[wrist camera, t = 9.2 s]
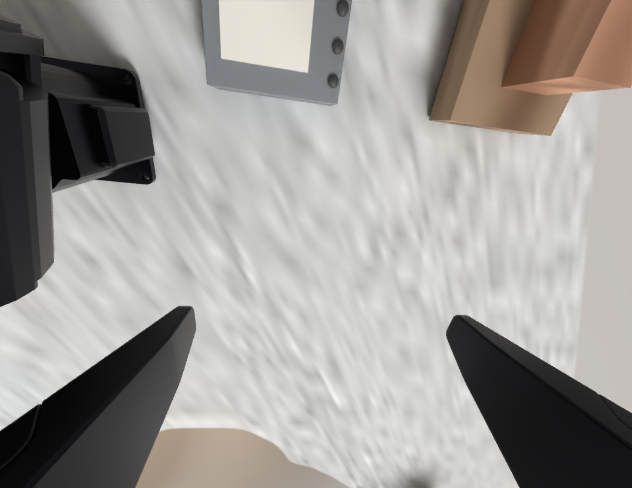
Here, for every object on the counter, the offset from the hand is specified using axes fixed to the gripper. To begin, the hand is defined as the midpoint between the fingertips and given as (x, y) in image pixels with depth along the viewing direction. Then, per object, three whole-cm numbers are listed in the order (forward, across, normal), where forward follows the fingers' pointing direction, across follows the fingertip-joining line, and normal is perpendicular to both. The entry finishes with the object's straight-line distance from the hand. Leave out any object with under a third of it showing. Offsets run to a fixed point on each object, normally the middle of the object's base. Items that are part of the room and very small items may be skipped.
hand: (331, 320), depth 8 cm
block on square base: (+12, -11, -11) cm, 20 cm away
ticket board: (+12, +3, -11) cm, 17 cm away
